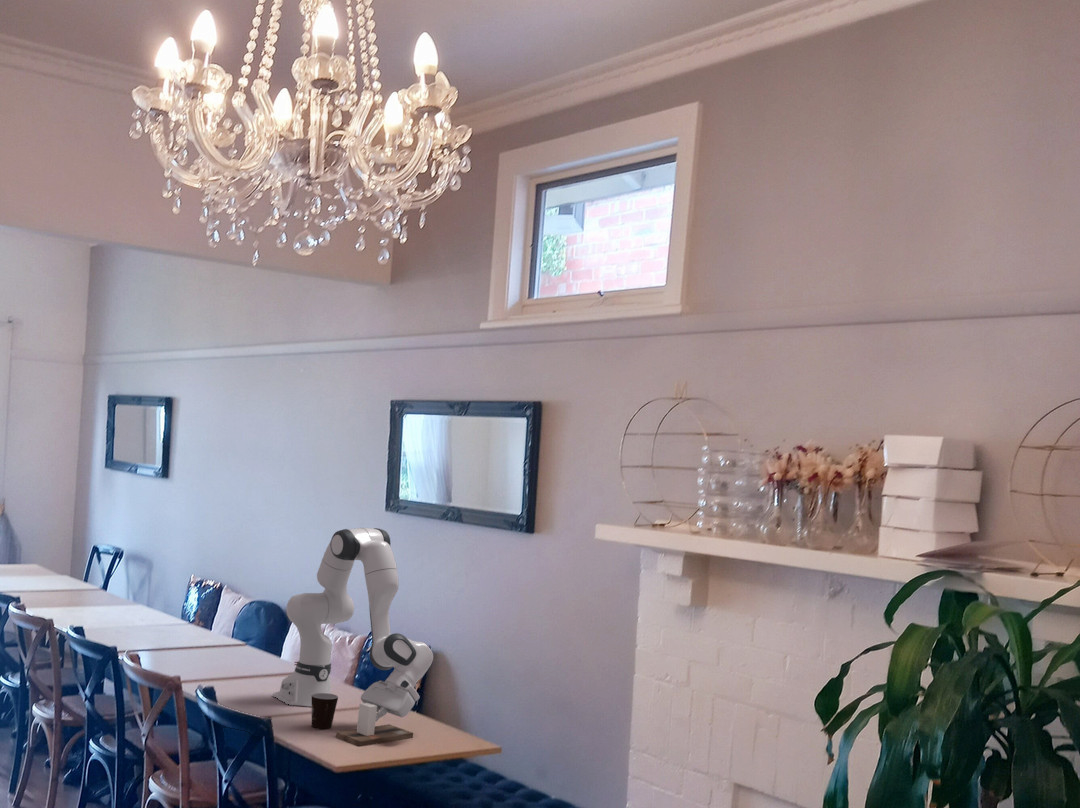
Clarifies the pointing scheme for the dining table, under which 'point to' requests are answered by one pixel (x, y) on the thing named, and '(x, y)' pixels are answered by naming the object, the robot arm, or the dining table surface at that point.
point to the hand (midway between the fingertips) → (371, 719)
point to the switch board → (375, 735)
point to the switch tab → (366, 719)
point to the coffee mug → (323, 710)
